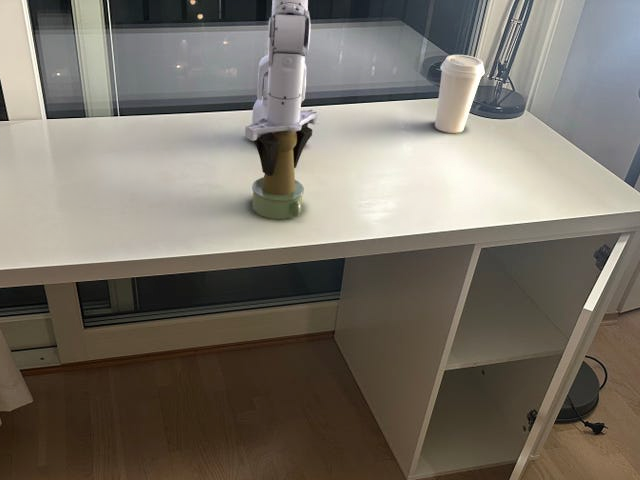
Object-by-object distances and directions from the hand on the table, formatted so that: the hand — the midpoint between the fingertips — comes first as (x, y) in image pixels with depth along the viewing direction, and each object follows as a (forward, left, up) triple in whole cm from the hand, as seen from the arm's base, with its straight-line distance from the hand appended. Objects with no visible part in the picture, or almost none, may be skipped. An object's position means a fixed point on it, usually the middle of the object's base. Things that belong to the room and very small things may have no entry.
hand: (279, 169), depth 125 cm
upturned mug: (0, 0, -7) cm, 7 cm away
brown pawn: (0, 0, -4) cm, 4 cm away
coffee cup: (-8, +58, -8) cm, 59 cm away
